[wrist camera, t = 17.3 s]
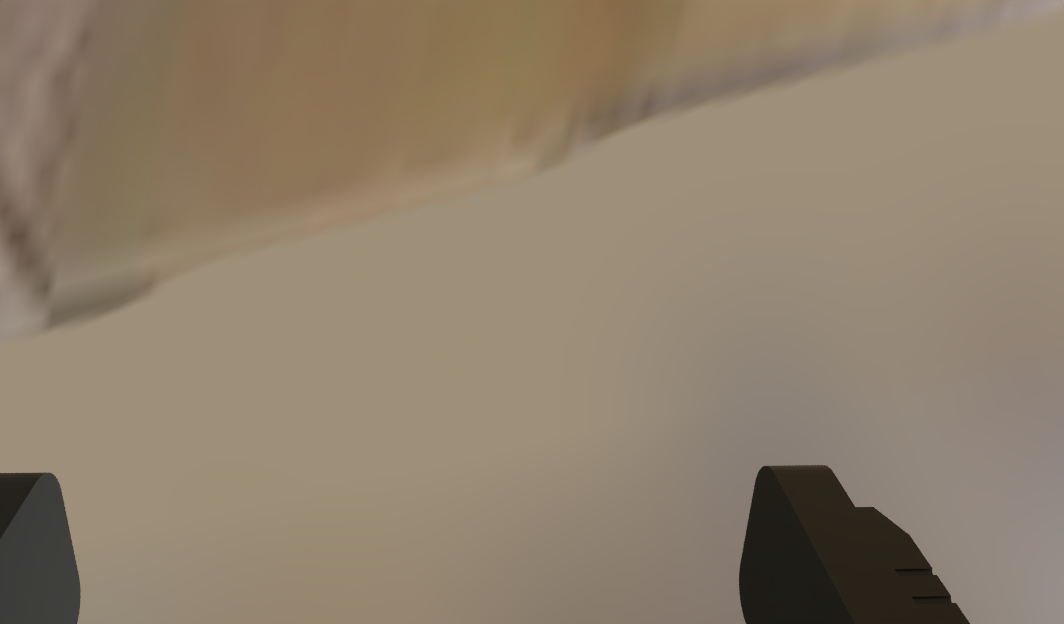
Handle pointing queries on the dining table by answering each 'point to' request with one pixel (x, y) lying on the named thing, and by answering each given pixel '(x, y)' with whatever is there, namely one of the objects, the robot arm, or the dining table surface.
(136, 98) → the dining table surface
